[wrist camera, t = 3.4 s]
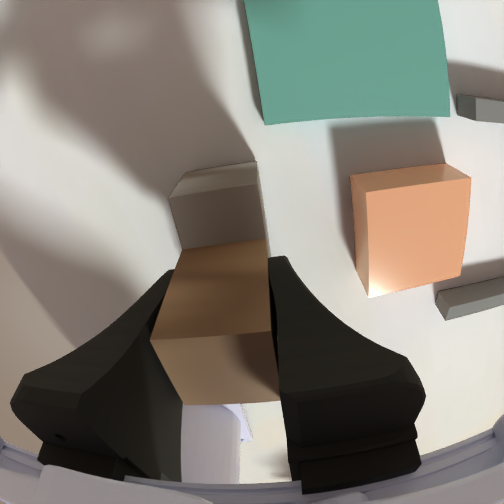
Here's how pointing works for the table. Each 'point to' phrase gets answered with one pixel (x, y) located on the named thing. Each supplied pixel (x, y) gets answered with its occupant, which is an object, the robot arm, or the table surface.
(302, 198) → the table surface
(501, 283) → the corral
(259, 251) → the two-tone wooden block
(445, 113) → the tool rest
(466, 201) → the orange block
